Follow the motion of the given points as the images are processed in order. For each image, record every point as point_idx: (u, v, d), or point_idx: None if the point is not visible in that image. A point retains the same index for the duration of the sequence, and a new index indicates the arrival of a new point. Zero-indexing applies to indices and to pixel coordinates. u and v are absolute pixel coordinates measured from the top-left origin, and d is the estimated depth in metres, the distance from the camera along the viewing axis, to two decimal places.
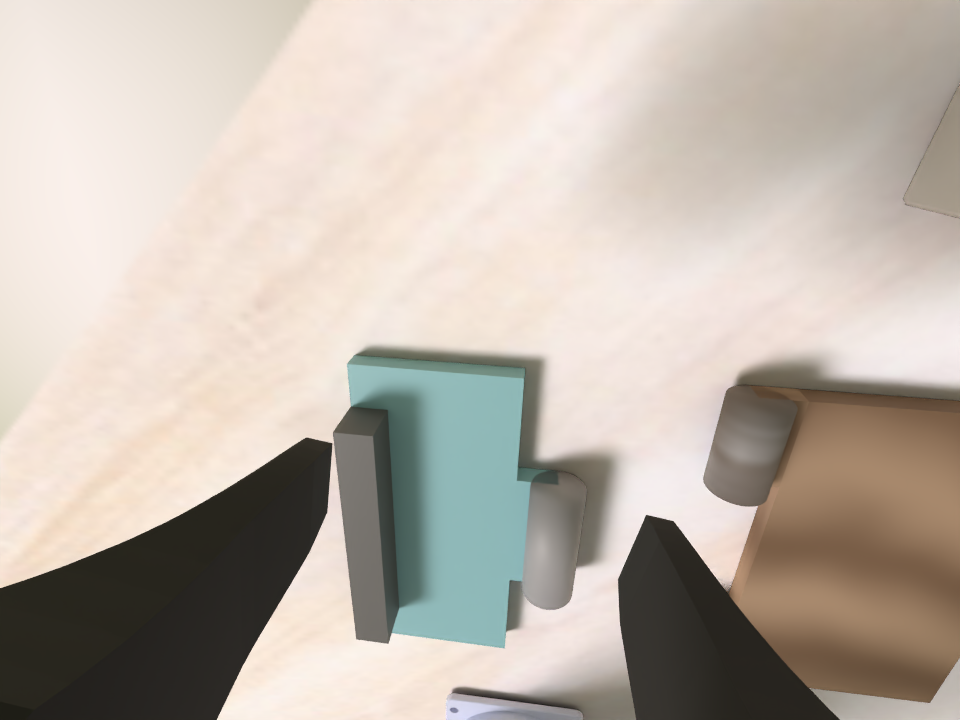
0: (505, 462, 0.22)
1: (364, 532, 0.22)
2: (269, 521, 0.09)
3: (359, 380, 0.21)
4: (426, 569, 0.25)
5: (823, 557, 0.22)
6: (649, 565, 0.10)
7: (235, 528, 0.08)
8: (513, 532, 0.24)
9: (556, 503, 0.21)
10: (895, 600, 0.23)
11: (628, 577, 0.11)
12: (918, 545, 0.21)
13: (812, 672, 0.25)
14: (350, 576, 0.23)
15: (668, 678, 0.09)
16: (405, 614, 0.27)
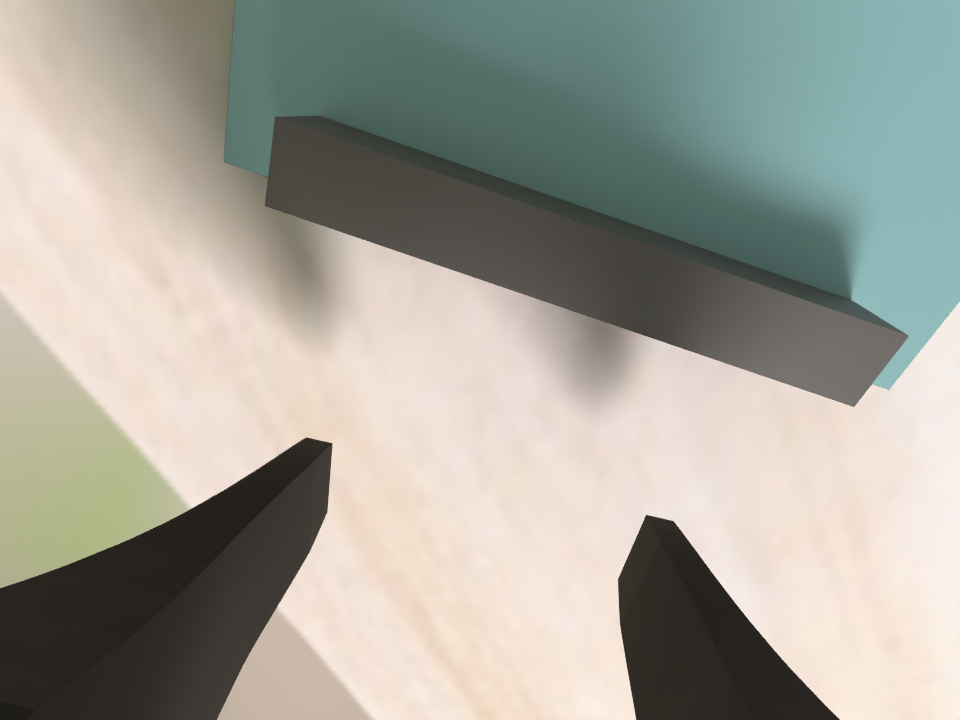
0: None
1: (529, 245, 0.09)
2: (269, 521, 0.09)
3: (256, 150, 0.11)
4: (757, 184, 0.10)
5: None
6: (649, 565, 0.10)
7: (235, 528, 0.08)
8: None
9: None
10: None
11: (628, 577, 0.11)
12: None
13: None
14: (650, 334, 0.10)
15: (668, 678, 0.09)
16: (880, 292, 0.11)
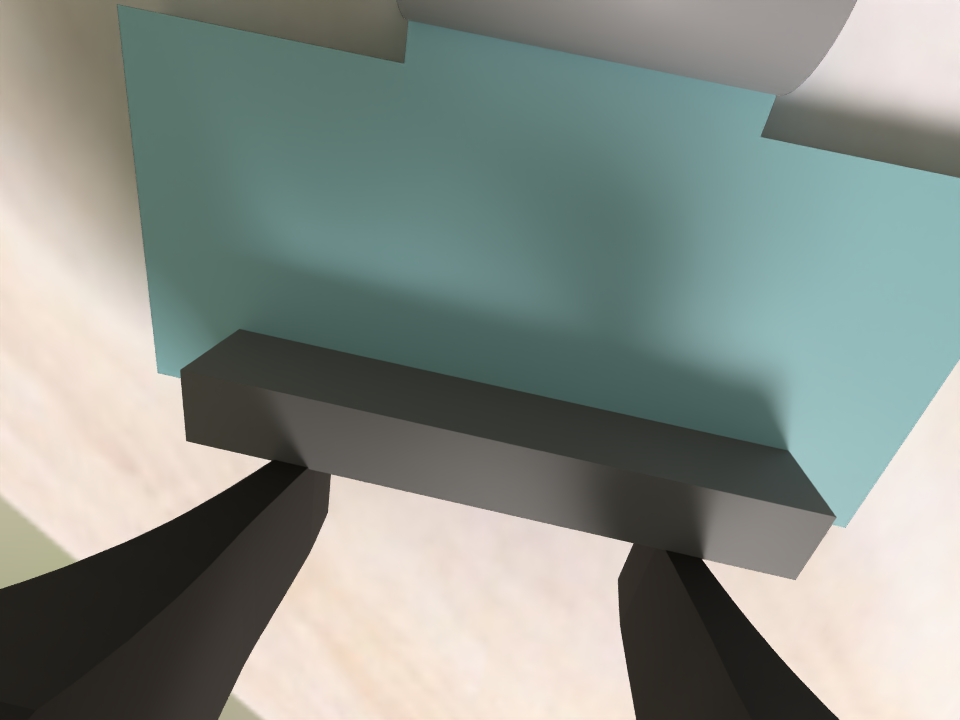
0: (349, 88, 0.09)
1: (440, 459, 0.10)
2: (270, 521, 0.09)
3: (185, 361, 0.12)
4: (671, 357, 0.10)
5: None
6: (649, 565, 0.10)
7: (236, 528, 0.08)
8: (578, 97, 0.08)
9: None
10: None
11: (628, 577, 0.11)
12: None
13: None
14: (575, 527, 0.10)
15: (668, 678, 0.09)
16: (817, 441, 0.11)
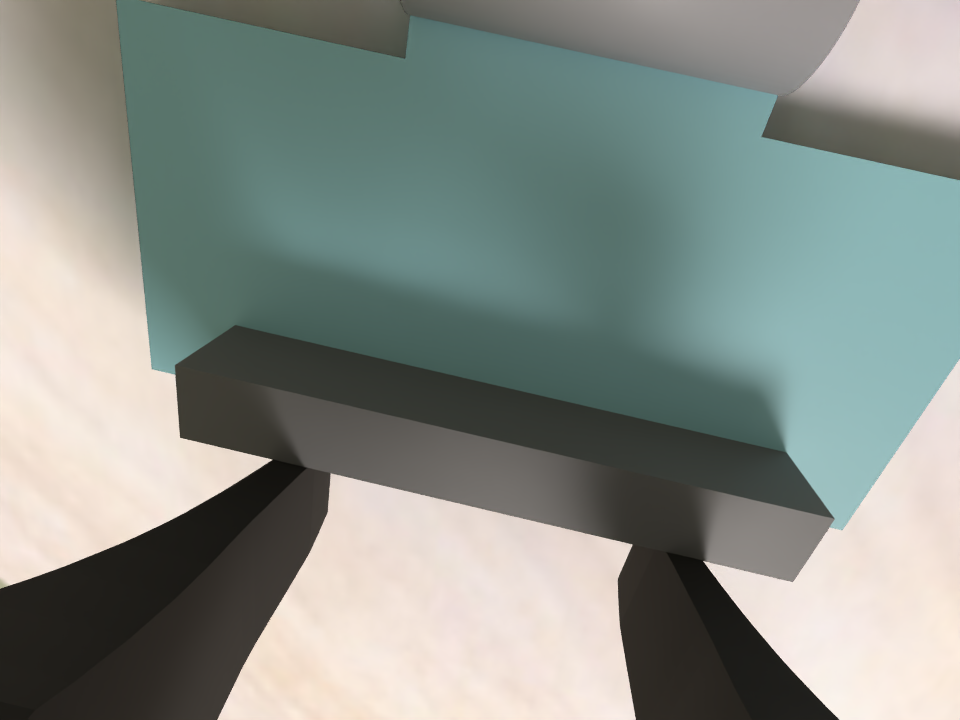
0: (349, 82, 0.09)
1: (438, 459, 0.09)
2: (270, 521, 0.09)
3: (180, 357, 0.12)
4: (670, 357, 0.10)
5: None
6: (648, 565, 0.10)
7: (236, 528, 0.08)
8: (580, 95, 0.08)
9: None
10: None
11: (627, 577, 0.11)
12: None
13: None
14: (573, 527, 0.10)
15: (667, 678, 0.09)
16: (815, 444, 0.11)
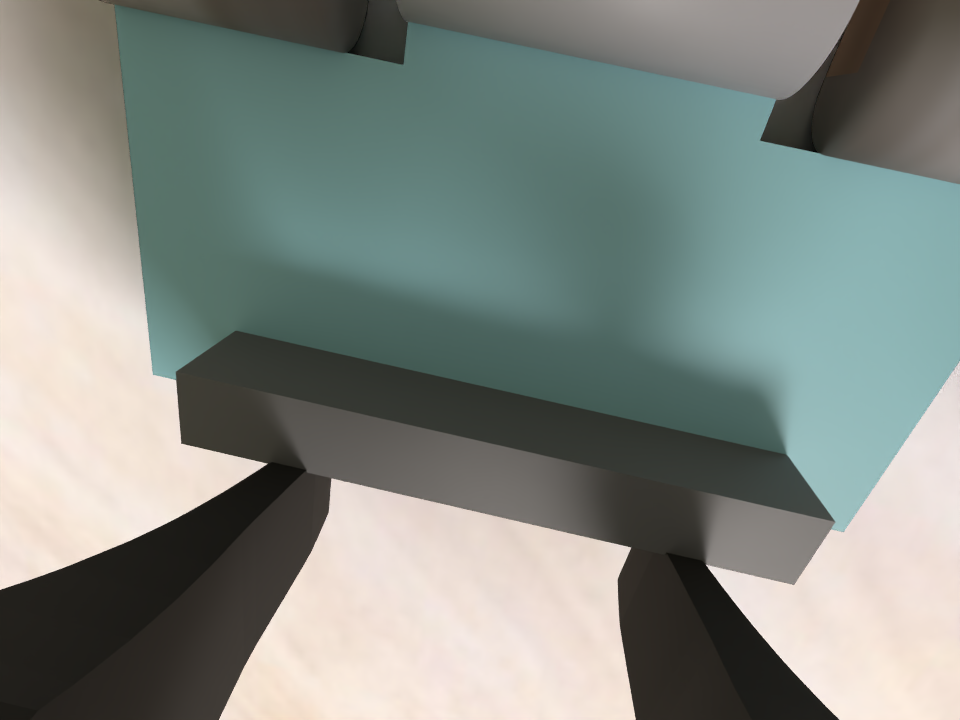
0: (348, 89, 0.09)
1: (438, 463, 0.09)
2: (271, 521, 0.09)
3: (181, 363, 0.12)
4: (670, 360, 0.10)
5: None
6: (648, 565, 0.10)
7: (237, 528, 0.08)
8: (578, 100, 0.08)
9: None
10: None
11: (628, 577, 0.11)
12: None
13: None
14: (573, 531, 0.10)
15: (667, 678, 0.09)
16: (815, 446, 0.11)
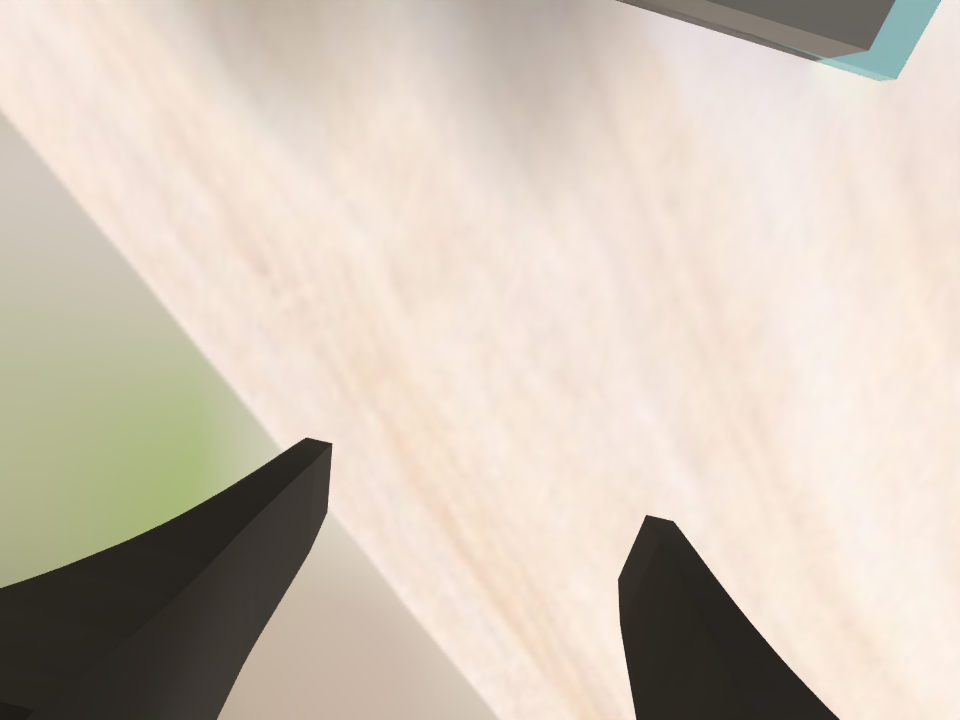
0: None
1: None
2: (269, 521, 0.09)
3: None
4: None
5: None
6: (649, 565, 0.10)
7: (235, 528, 0.08)
8: None
9: None
10: None
11: (628, 577, 0.11)
12: None
13: None
14: None
15: (668, 678, 0.09)
16: None
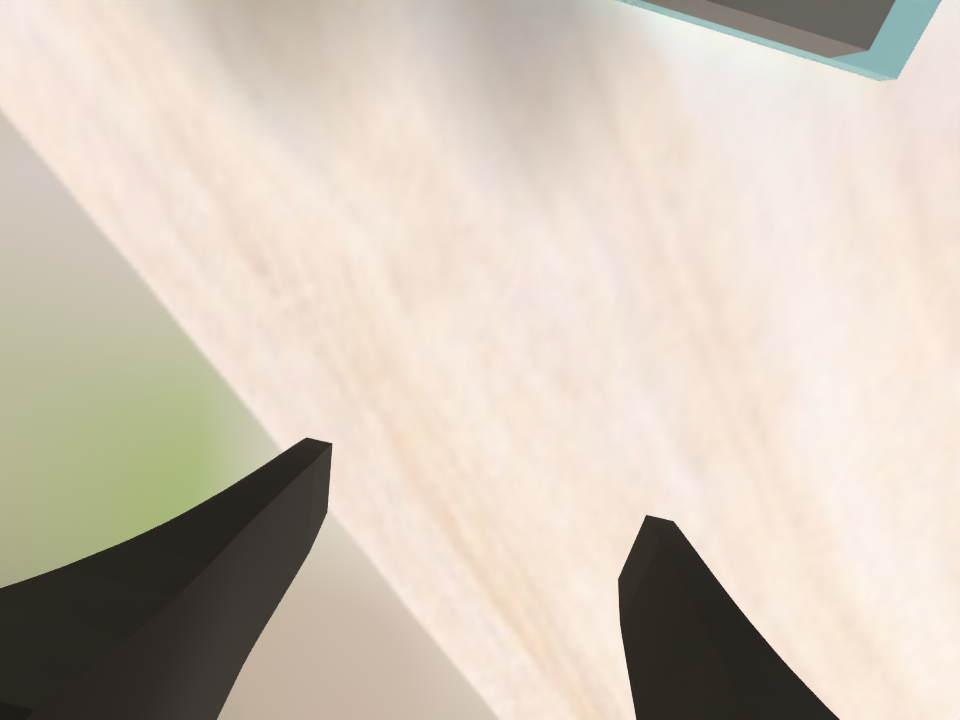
0: None
1: None
2: (269, 521, 0.09)
3: None
4: None
5: None
6: (649, 565, 0.10)
7: (235, 528, 0.08)
8: None
9: None
10: None
11: (628, 577, 0.11)
12: None
13: None
14: None
15: (668, 678, 0.09)
16: None
